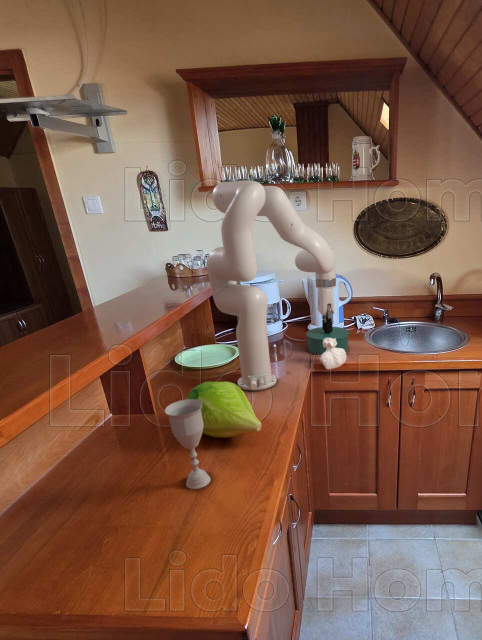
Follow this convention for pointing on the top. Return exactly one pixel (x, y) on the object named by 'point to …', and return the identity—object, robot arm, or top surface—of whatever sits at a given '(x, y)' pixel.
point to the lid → (327, 333)
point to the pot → (318, 347)
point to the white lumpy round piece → (332, 354)
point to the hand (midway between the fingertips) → (327, 330)
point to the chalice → (189, 435)
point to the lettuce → (224, 409)
